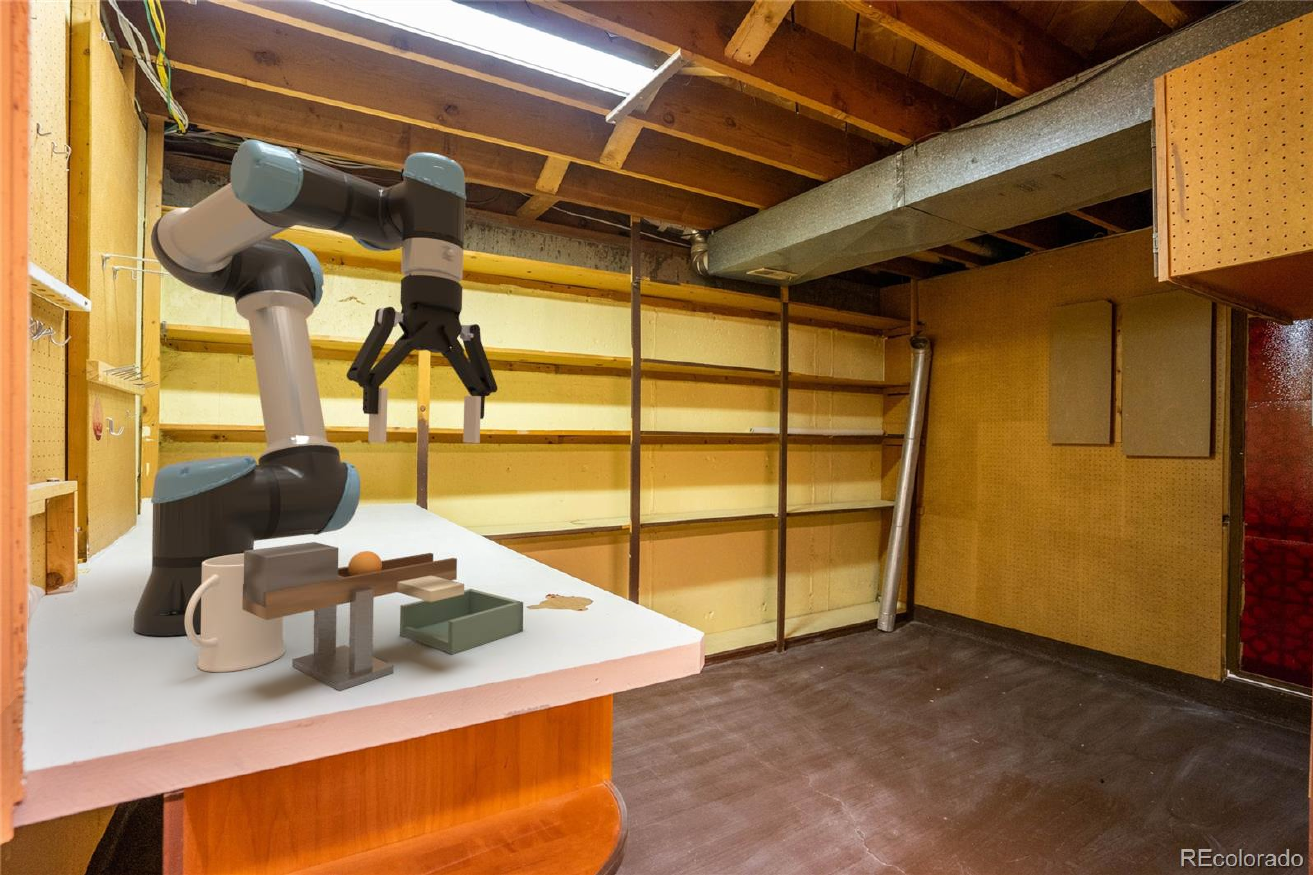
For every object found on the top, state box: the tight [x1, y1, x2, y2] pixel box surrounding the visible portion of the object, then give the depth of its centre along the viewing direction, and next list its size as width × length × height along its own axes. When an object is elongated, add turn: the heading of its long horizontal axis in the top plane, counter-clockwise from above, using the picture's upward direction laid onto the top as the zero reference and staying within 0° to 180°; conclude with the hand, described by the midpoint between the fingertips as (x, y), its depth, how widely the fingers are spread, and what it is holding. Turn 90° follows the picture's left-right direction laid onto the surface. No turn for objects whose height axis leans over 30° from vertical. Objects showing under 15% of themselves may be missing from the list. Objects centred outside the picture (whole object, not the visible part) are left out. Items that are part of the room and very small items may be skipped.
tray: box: [399, 588, 524, 655], centre depth 80 cm, size 12×11×4 cm
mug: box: [185, 553, 286, 673], centre depth 69 cm, size 12×8×12 cm
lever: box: [242, 541, 465, 620], centre depth 67 cm, size 13×22×6 cm, turn 144°
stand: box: [291, 587, 394, 692], centre depth 67 cm, size 11×6×10 cm, turn 54°
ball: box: [347, 550, 382, 576], centre depth 69 cm, size 4×4×4 cm
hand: (427, 442), depth 77 cm, fingers open, 13 cm apart
